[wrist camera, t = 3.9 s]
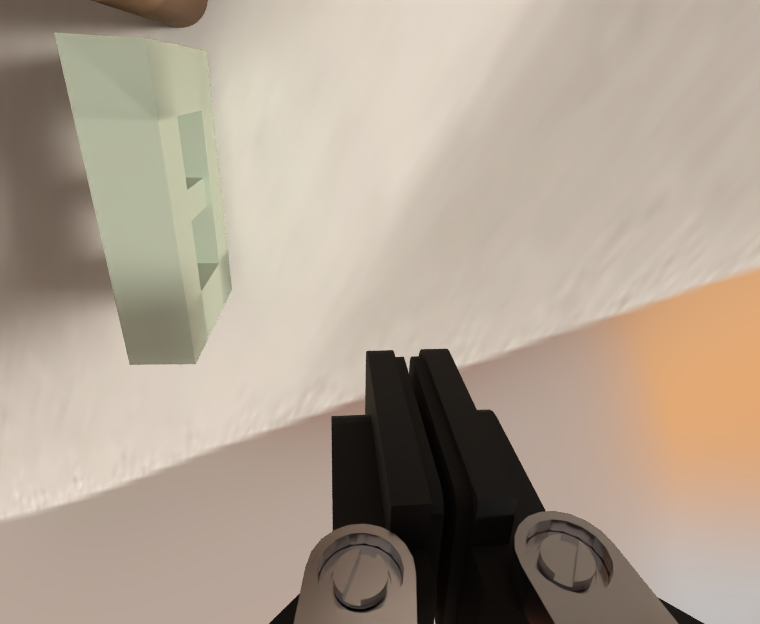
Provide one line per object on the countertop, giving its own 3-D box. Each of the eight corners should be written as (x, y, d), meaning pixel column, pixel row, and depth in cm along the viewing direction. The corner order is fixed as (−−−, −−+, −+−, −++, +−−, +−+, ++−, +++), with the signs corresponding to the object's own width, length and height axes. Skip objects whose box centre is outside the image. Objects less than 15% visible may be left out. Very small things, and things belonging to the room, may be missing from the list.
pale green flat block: (146, 47, 16) (54, 32, 11) (206, 50, 16) (144, 37, 11) (183, 289, 20) (129, 364, 15) (231, 289, 20) (195, 363, 15)
